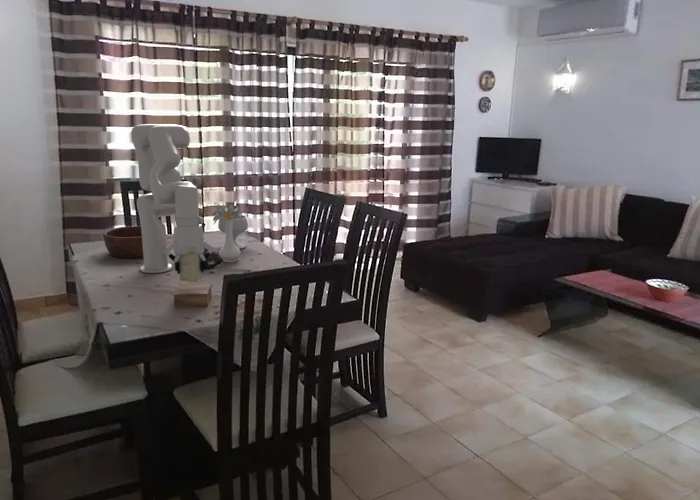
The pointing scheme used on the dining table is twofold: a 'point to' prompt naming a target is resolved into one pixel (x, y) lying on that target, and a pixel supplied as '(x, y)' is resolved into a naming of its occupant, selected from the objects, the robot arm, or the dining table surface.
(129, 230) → the wooden bowl
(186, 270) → the skincare box
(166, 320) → the dining table surface
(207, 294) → the light wood square block
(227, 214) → the flower vase
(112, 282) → the dining table surface
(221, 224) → the chalice
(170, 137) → the robot arm
